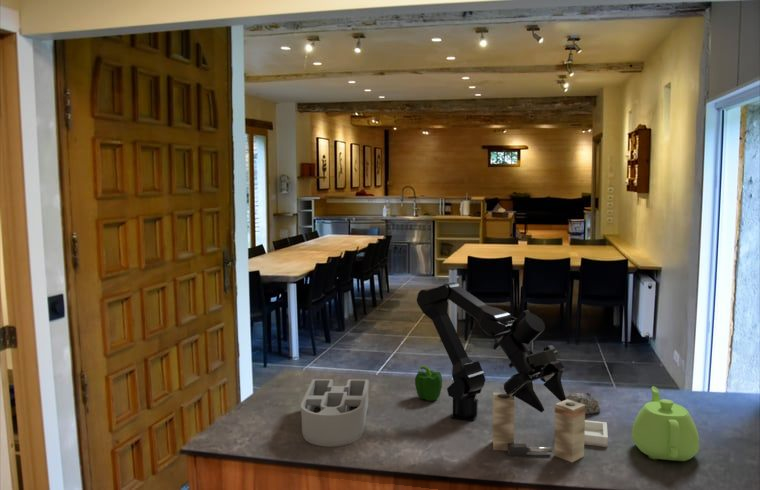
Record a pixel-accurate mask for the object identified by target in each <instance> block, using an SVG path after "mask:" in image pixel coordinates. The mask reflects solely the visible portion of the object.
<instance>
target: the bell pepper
mask: <svg viewBox="0 0 760 490" xmlns="http://www.w3.org/2000/svg"><path fill="white" fill-rule="evenodd" d="M419 368H420V370H424V371H425V372H424V371H418V372H417V373H416V376H415V378H414V385H415V389H416V393H417V397H418V398H419V399H422V400H425V401H427V402H429V401H430V402H431V401H432V402H433V401H436V400H438V398H439V397H440V394H441V391H442V387H443V377H442V374H441V371H434V370H431V369H430V368H429V367H428V366H426V365H420V367H419Z"/></svg>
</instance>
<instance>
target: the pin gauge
mask: <svg viewBox="0 0 760 490" xmlns="http://www.w3.org/2000/svg"><path fill="white" fill-rule="evenodd" d="M506 452H507V454H508V456H509V457H528V454H552V453H553V449H552V446H527V443H519V442H518V443H516V442H514V443H508V448H507V451H506Z"/></svg>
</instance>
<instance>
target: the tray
mask: <svg viewBox="0 0 760 490" xmlns="http://www.w3.org/2000/svg"><path fill="white" fill-rule="evenodd" d="M607 423H608V422H605V421H596V420H587V419H585V437H584V445H588V446H595V447H596V446H597V447H604V448H608V444H609V443H608V442H609V441H608V439H609V436H608V435H609V434H608V424H607Z"/></svg>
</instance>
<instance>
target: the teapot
mask: <svg viewBox="0 0 760 490" xmlns="http://www.w3.org/2000/svg"><path fill="white" fill-rule="evenodd" d="M659 391H660V390H659V388H658V387H656V386H651V394H652V395H651V401H649V402H646V403H645V404H644V405H643V406H642V407H641V409H640V411H638V414H637V416H636V417H635V419H634V422H633V425H632V428H631V429H632V430H631V438H632V440H633V442H634V444H635V445H636V447H637V449H639V451H640V452H642V454H645V455H647V457H648V458H649V459H653V460H667V461H678V462H679V461H680V462H686V461H688V460H690V459H692V458H693V457H694V456H696V454H697V453H698V452H699V450H700V437H699V432H698V429H697V427H696V423H695V422H694V420H693V418H692V416H691V414H690V413H689V411H688V409H686V408H685V407H684V406H682V405H680V404H677V403H674V401H673V400H671V399H666V398H665V399H664V398H663V399H661V396H660V392H659Z"/></svg>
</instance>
